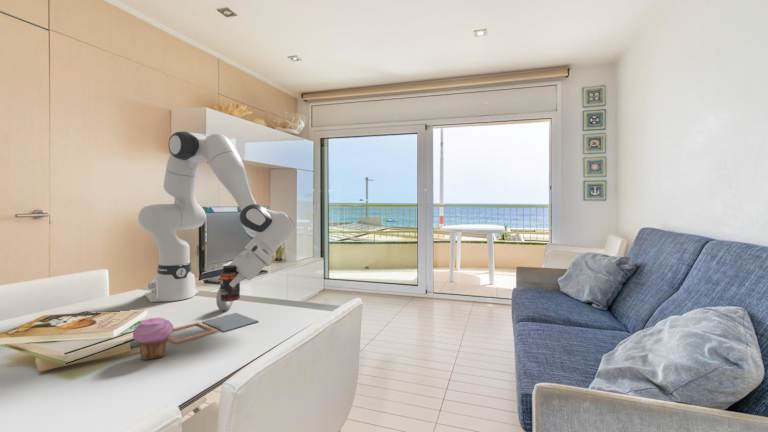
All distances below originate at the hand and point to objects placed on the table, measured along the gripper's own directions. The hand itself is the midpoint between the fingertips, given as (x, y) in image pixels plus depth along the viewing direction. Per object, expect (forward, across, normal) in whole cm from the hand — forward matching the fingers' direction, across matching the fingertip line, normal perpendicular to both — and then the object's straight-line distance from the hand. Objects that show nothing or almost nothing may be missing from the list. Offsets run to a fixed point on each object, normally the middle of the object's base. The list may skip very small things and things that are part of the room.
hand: (228, 283), depth 119 cm
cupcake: (+25, +17, -6) cm, 30 cm away
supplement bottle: (+4, 0, +4) cm, 6 cm away
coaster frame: (+18, +3, +1) cm, 18 cm away
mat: (+9, 0, +10) cm, 13 cm away
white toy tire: (+8, -15, +11) cm, 20 cm away
